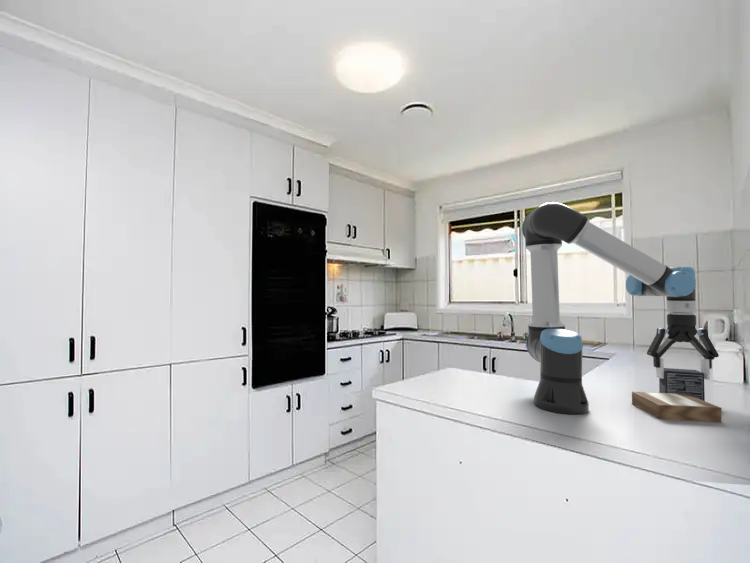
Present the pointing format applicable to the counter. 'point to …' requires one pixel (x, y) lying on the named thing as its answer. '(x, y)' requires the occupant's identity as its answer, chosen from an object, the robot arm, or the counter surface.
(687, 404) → the wooden block
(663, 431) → the counter surface
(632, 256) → the robot arm
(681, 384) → the small box
